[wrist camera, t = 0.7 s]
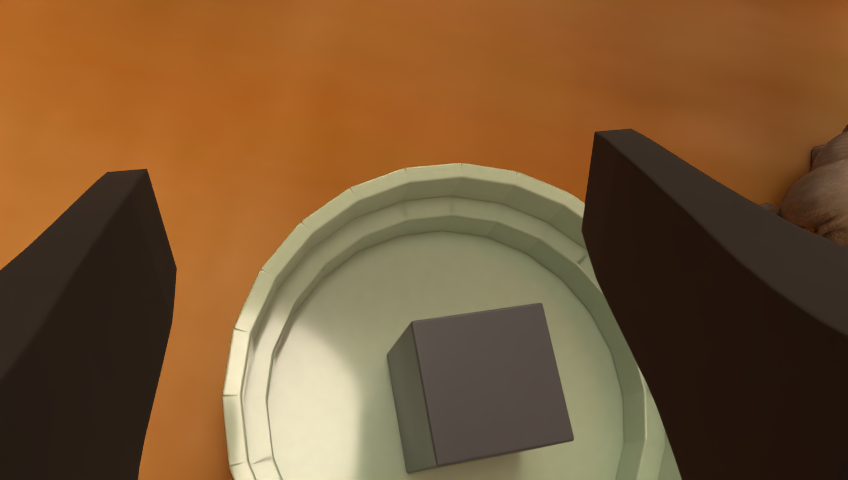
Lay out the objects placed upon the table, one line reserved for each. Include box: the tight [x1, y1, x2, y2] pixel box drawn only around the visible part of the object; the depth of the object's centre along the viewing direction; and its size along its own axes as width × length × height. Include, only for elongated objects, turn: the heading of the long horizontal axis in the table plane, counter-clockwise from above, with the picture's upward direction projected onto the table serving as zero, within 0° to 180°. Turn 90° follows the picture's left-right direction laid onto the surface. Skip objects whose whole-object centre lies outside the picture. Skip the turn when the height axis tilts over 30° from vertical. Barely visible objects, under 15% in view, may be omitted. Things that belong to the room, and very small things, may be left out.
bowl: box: [222, 163, 682, 480], centre depth 27 cm, size 16×16×4 cm
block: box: [387, 303, 574, 473], centre depth 26 cm, size 4×4×6 cm
